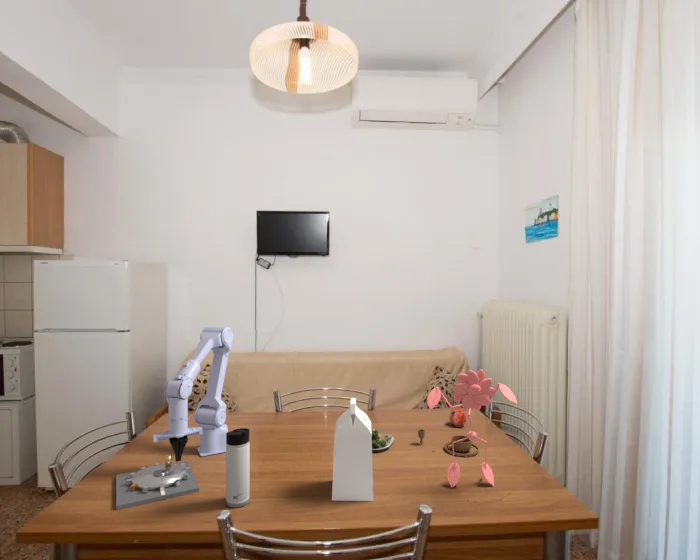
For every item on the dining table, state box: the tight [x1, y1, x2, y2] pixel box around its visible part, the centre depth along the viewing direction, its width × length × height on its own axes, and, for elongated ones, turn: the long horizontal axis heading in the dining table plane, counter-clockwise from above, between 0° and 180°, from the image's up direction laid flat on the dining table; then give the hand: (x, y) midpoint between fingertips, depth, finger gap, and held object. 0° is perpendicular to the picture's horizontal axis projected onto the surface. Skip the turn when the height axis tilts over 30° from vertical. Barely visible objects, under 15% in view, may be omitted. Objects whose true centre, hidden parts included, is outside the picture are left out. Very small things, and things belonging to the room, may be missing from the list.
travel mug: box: [225, 427, 251, 509], centre depth 118 cm, size 6×7×20 cm
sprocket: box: [127, 453, 192, 492], centre depth 130 cm, size 18×18×4 cm
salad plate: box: [371, 428, 395, 454], centre depth 162 cm, size 19×18×5 cm
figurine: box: [426, 369, 518, 503], centre depth 125 cm, size 15×26×35 cm, turn 92°
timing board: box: [115, 460, 200, 511], centre depth 129 cm, size 21×21×1 cm
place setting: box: [417, 428, 480, 457], centre depth 157 cm, size 18×20×6 cm
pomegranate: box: [448, 408, 468, 428], centre depth 180 cm, size 7×7×10 cm
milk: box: [331, 397, 374, 502], centre depth 125 cm, size 12×12×26 cm
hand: (178, 460), depth 138 cm, fingers closed
